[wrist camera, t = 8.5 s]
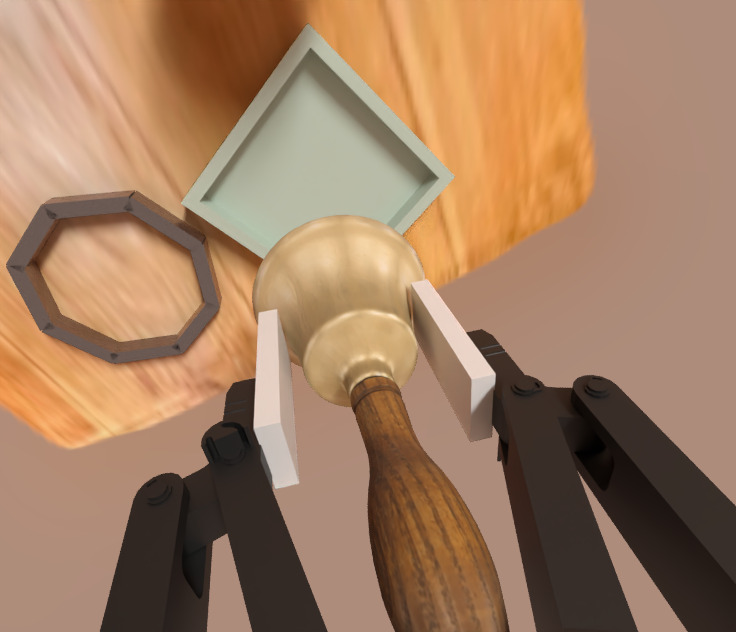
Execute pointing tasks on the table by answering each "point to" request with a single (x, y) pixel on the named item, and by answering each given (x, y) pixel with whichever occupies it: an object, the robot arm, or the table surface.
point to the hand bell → (382, 414)
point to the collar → (80, 335)
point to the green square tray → (314, 155)
